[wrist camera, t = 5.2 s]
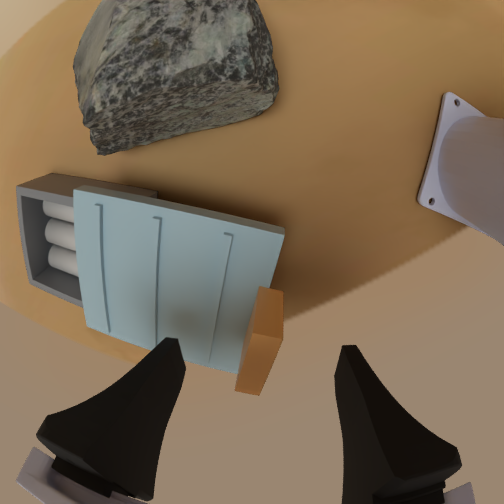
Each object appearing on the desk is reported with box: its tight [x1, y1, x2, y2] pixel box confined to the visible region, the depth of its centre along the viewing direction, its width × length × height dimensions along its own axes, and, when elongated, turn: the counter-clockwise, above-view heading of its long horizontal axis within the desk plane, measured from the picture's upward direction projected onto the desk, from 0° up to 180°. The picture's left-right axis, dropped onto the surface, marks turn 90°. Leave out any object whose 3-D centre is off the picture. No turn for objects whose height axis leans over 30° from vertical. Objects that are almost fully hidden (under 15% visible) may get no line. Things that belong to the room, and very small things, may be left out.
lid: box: [73, 185, 285, 396], centre depth 13 cm, size 12×10×4 cm
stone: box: [73, 0, 279, 156], centre depth 10 cm, size 10×10×10 cm
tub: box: [16, 173, 158, 308], centre depth 17 cm, size 10×8×4 cm
